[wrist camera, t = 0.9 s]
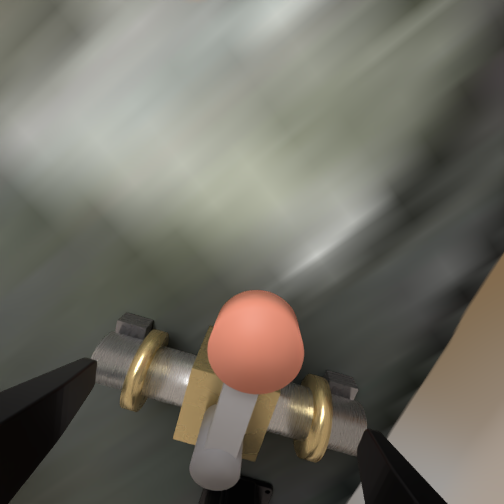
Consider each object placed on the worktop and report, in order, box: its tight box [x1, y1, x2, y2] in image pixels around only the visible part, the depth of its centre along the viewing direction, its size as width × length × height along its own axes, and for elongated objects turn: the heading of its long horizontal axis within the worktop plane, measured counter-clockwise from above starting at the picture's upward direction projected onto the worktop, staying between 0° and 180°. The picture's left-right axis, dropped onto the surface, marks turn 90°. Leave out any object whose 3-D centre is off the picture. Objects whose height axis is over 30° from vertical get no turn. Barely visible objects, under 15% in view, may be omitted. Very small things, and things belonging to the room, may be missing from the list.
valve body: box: [91, 312, 367, 462], centre depth 20 cm, size 20×6×6 cm, turn 74°
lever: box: [189, 290, 304, 491], centre depth 14 cm, size 12×4×4 cm, turn 164°
